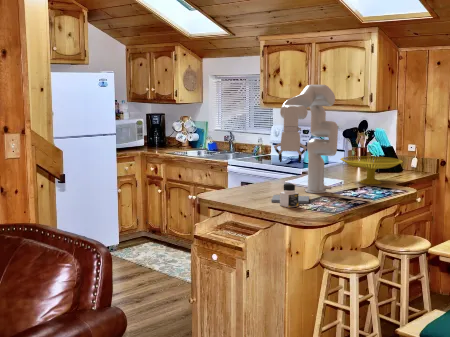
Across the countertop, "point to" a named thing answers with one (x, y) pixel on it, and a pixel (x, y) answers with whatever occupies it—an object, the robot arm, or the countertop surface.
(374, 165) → the cake stand
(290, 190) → the medicine bottle
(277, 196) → the serving board
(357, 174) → the countertop surface
